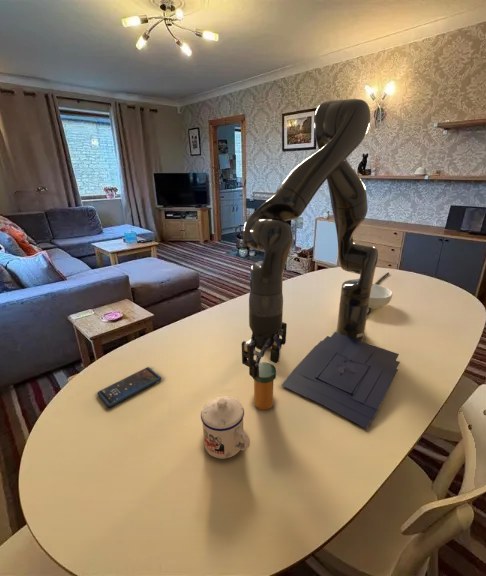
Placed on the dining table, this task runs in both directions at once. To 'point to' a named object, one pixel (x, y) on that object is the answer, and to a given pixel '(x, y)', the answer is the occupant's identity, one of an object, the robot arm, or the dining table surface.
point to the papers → (345, 376)
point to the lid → (266, 373)
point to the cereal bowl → (379, 296)
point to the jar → (263, 395)
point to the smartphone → (128, 386)
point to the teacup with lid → (224, 427)
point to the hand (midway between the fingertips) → (264, 368)
